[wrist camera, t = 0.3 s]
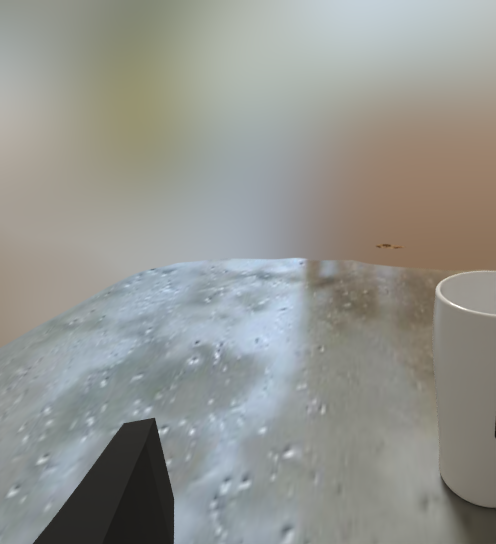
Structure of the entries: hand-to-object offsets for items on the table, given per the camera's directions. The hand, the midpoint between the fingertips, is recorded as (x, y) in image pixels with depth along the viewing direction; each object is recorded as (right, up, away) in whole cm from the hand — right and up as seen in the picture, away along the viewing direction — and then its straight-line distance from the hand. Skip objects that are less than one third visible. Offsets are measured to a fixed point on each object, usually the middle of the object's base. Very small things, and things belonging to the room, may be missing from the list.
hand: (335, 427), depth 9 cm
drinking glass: (+15, -12, +22) cm, 29 cm away
